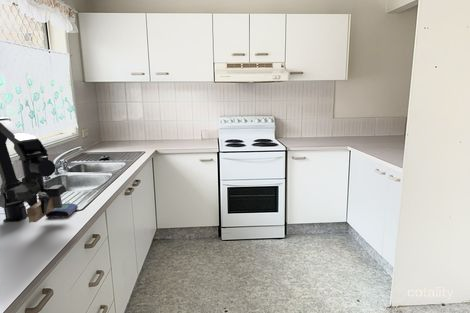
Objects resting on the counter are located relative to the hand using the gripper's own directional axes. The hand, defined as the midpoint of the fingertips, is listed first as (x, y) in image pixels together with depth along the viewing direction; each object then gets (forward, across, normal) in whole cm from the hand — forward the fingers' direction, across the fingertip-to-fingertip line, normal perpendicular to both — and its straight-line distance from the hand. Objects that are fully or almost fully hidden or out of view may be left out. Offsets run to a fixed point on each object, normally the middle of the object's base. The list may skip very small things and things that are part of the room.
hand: (40, 213), depth 117 cm
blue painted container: (+5, 0, +10) cm, 11 cm away
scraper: (+1, 0, +1) cm, 2 cm away
